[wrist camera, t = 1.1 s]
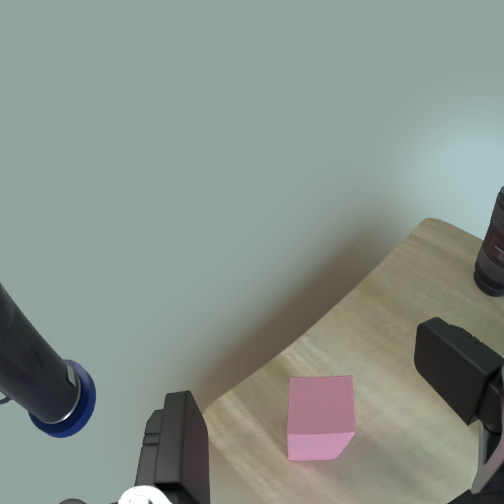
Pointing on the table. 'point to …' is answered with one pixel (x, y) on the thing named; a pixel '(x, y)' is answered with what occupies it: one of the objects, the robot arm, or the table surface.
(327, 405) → the pink box
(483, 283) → the camera lens
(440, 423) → the table surface
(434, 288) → the table surface
